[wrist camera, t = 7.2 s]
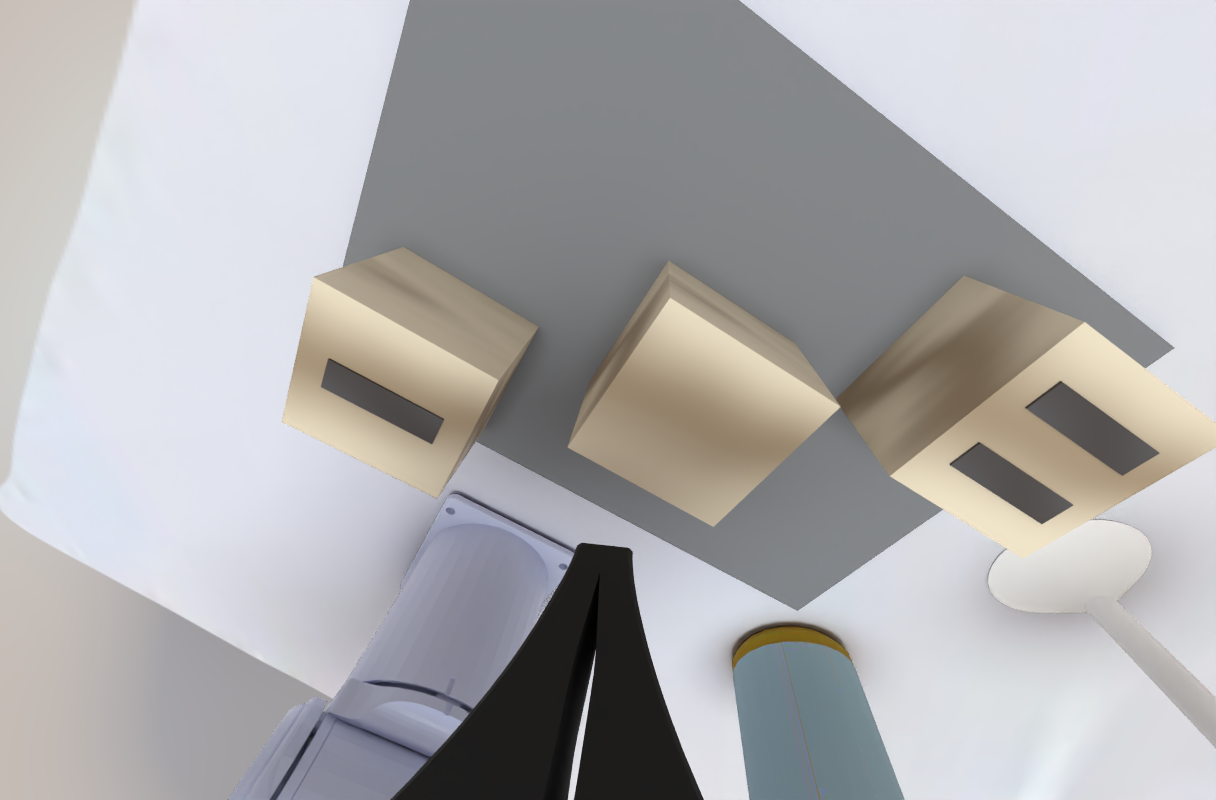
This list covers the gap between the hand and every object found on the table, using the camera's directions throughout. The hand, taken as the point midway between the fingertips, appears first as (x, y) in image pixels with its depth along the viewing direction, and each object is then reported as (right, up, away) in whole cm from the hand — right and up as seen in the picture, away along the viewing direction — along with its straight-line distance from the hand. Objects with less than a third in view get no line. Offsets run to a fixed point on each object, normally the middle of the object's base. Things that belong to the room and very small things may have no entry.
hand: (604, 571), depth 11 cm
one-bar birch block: (-7, +7, +7) cm, 12 cm away
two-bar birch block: (+14, +5, +6) cm, 16 cm away
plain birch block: (+3, +6, +7) cm, 10 cm away
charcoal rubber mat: (+4, +7, +7) cm, 10 cm away
